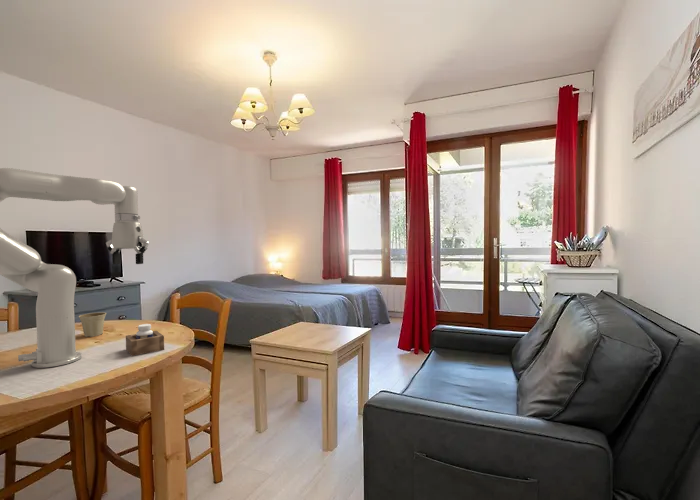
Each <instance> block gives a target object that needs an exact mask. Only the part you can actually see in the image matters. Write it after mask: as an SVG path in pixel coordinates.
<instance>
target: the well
mask: <svg viewBox="0 0 700 500" xmlns="http://www.w3.org/2000/svg"><path fill="white" fill-rule="evenodd" d="M152 331H153V337H148V338H142V339H137V340H136V333H134V334H128V335H125V350H126V351H127V352H128V354H129V355H130V356H132V357H134V356H139V355H145V354H149V353H153V352H159V351H163V350H165V335H164V334H162V333H161V332H159V331H158V330H152Z"/></svg>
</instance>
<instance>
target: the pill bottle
mask: <svg viewBox="0 0 700 500" xmlns="http://www.w3.org/2000/svg"><path fill="white" fill-rule="evenodd" d="M137 330H138V331H137V332H136V333H135V334H136V340H137V339H142V338H148V337H153V331H154V330H152V324H150V323H143V324H139V325H138V326H137Z"/></svg>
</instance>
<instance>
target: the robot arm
mask: <svg viewBox="0 0 700 500" xmlns="http://www.w3.org/2000/svg"><path fill="white" fill-rule="evenodd" d="M7 198H18V199H27V200H29V199H31V200H40V201H41V200H43V201H52V202H74V201H76V202H77V201H89V202H92V203H93V204H96V205H103V206H104V205H114V222H113V225H112V231H111V232H112V233H111V239H109V240H108V241H106V242H105V244H106V247H107V249H108V251H109V253H110V254H111V257H112V264H113V265H120V264H121V253H120V252H121V250H123V249H124V250H125V249H128V250H130V249H131V250H132V249H133V250H134V251H135V252H136V253H135V265H143V264H144V254H145V253H146V250H148V246H149V245H150V242H149V241H148V240H146V239H145V238H144V233H143V228H142V224H141V223H140V222H139V220H141V216H140V215H139V203H138V190H137V187H134V186H130V185H129V186H127V185H122V184H120V182H119V183H118V182H116V181H113V180H112V181H111V180H106V179H100V178H93V177H89V178H88V177H81V176H71V175H63V174H62V175H61V174H53V173H45V172H40V171H33V170H26V169H19V168H18V169H17V168H13V167H12V168H11V167H2V168H0V203H1V202H3V201H4V200H6V199H7ZM0 276H1V277H4V278H5V279H7V280H9V281H11V282H13V283H15V284H17V285H19V286H21V287H23V288H25V289H27V290H29V291H31V292H35V293H37V298H36V304H35V318H36V320H35V321H36V343H37V344H36V345H37V346H36V347H37V348H35V351H31V353H23V354H18V355H17V356H18V360H17V361H18V362H29V361H31V366H32V368H37V369H38V368H39V369H43V368H44V369H45V368H54V367H58V366H63V365H67V364H71V363H73V362H77V361H78V360H81V358H82V357H83V356H82V355H83V354H82V352H79V351H76V326H75V325H76V322H75V321H76V320H75V319H76V318H75V292H76V287H77V276H76V274H75V273H74V270H72V269H71V268H69V267H68V266H65V265H63V264H56V263H55V264H53V263H52V264H51V263H45V262H44V261H42V256H41V255H40V254H39V252H38V251H37V250H36V249H34V248H33V247H32V246H29V245H27V244H26V243H24V242H22V241H21V240H20V239H17V238H16V237H14V236H13V235H10V233H8V232H7V231H5V230H3V229H2V228H1V227H0Z"/></svg>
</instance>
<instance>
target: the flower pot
mask: <svg viewBox="0 0 700 500" xmlns="http://www.w3.org/2000/svg"><path fill="white" fill-rule="evenodd" d="M106 315H107V312H99V311H98V312H89V313H85V314H80V315H78V318H79V320H80V322H81V326H82V330H83V337H85V338H87V337H92V338H93V337H98V336H101V335H102V334H103V333H104V326H105V325H104V323H105V318H106Z"/></svg>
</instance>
